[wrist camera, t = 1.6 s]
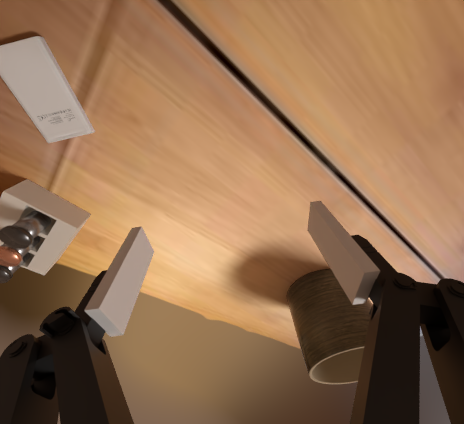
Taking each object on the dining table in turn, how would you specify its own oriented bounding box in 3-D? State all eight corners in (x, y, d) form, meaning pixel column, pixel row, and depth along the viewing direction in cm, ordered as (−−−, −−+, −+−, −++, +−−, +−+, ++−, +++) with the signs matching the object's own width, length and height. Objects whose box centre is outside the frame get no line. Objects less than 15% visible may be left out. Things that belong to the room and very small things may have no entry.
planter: (274, 306, 66) (292, 382, 49) (306, 261, 55) (345, 341, 38) (329, 313, 71) (364, 385, 54) (370, 274, 60) (429, 349, 43)
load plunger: (13, 237, 40) (-15, 259, 35) (20, 224, 38) (-9, 245, 33) (38, 248, 41) (14, 270, 37) (46, 236, 40) (22, 257, 35)
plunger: (5, 253, 42) (-23, 276, 37) (11, 242, 40) (-17, 264, 35) (29, 263, 44) (5, 285, 39) (35, 252, 42) (12, 274, 37)
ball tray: (59, 258, 49) (44, 275, 45) (0, 233, 44) (-23, 249, 40) (91, 214, 42) (77, 228, 38) (27, 178, 37) (3, 191, 33)
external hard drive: (46, 37, 27) (97, 131, 34) (-8, 52, 28) (53, 141, 35) (37, 35, 26) (92, 133, 33) (-20, 50, 26) (46, 143, 33)
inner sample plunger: (23, 219, 37) (-6, 239, 33) (31, 204, 36) (1, 223, 31) (49, 231, 39) (25, 252, 34) (57, 218, 38) (33, 238, 33)
